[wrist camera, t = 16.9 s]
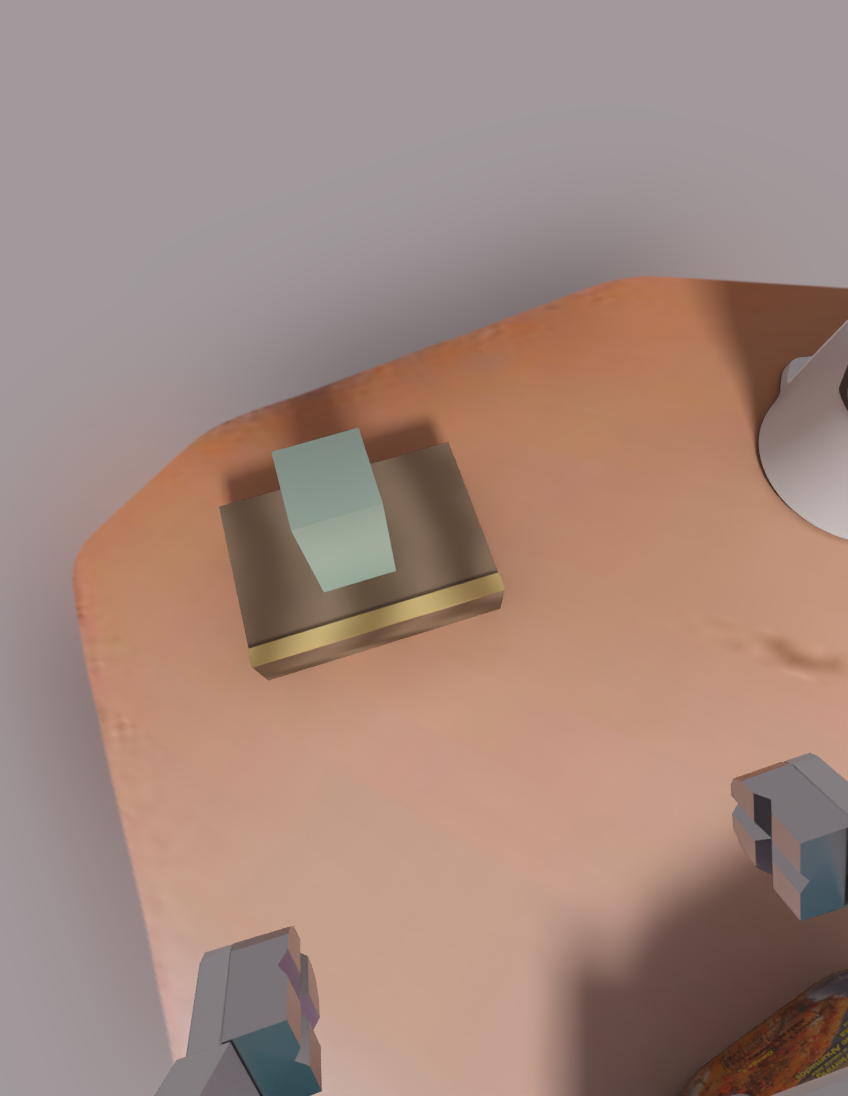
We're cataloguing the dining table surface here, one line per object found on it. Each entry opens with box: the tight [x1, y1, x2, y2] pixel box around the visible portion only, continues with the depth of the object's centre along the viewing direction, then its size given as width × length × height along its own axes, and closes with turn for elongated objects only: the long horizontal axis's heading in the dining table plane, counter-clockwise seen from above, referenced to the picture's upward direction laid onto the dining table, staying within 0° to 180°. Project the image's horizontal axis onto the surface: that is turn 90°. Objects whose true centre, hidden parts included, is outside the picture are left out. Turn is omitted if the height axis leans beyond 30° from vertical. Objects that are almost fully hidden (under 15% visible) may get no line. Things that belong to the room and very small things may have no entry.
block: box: [271, 428, 396, 592], centre depth 40 cm, size 5×5×10 cm
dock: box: [219, 442, 505, 680], centre depth 46 cm, size 17×12×4 cm
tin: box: [682, 969, 848, 1096], centre depth 32 cm, size 15×3×8 cm, turn 119°
